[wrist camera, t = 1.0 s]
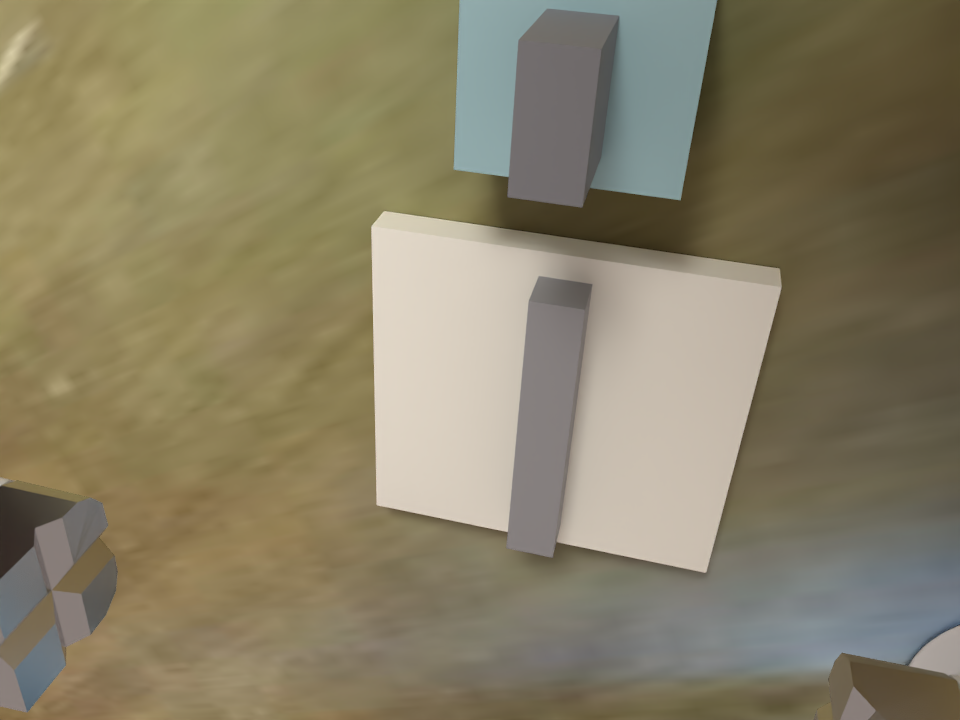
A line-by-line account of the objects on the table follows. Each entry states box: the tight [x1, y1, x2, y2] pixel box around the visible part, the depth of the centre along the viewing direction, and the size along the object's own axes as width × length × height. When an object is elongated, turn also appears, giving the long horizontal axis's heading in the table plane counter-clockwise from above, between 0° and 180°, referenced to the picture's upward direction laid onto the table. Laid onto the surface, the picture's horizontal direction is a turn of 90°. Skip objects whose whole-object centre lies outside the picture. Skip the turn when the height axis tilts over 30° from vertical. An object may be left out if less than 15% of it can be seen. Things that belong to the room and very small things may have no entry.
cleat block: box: [454, 0, 717, 208], centre depth 26 cm, size 6×7×9 cm
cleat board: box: [371, 211, 782, 573], centre depth 36 cm, size 14×15×4 cm
